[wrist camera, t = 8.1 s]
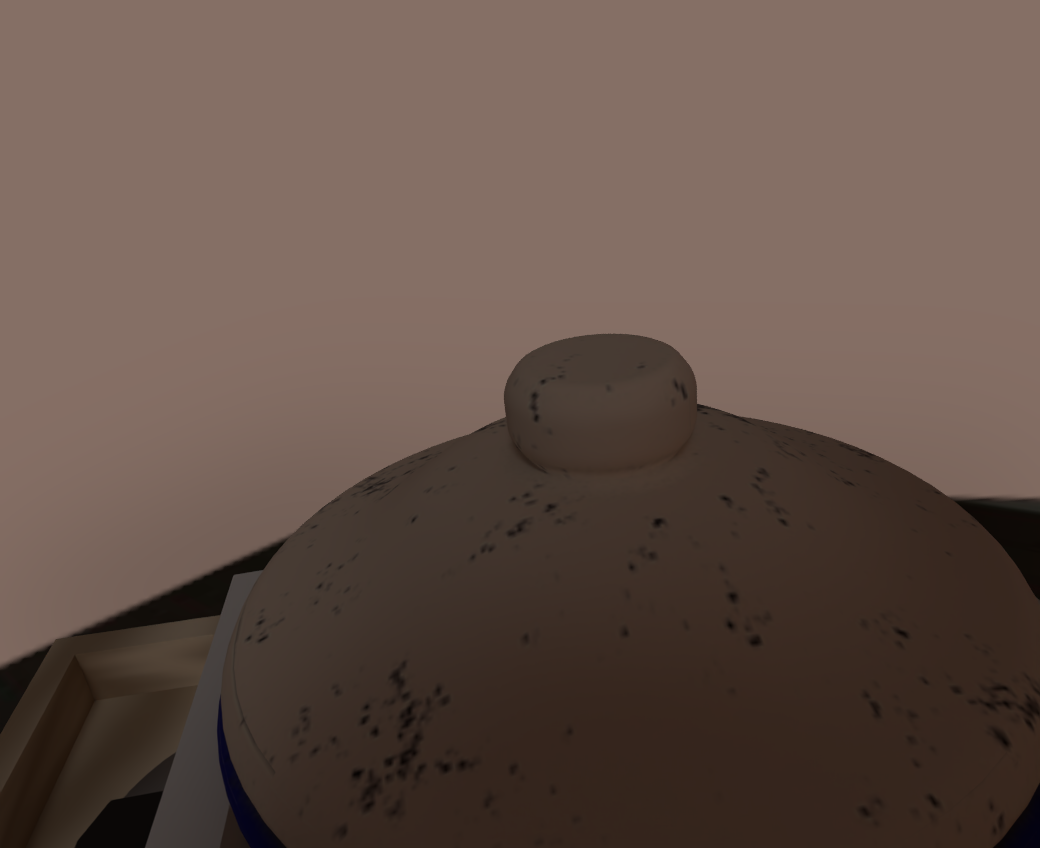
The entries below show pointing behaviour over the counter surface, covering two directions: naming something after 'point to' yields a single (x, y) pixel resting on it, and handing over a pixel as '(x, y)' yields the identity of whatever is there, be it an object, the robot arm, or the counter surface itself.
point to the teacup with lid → (635, 640)
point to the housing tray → (97, 728)
